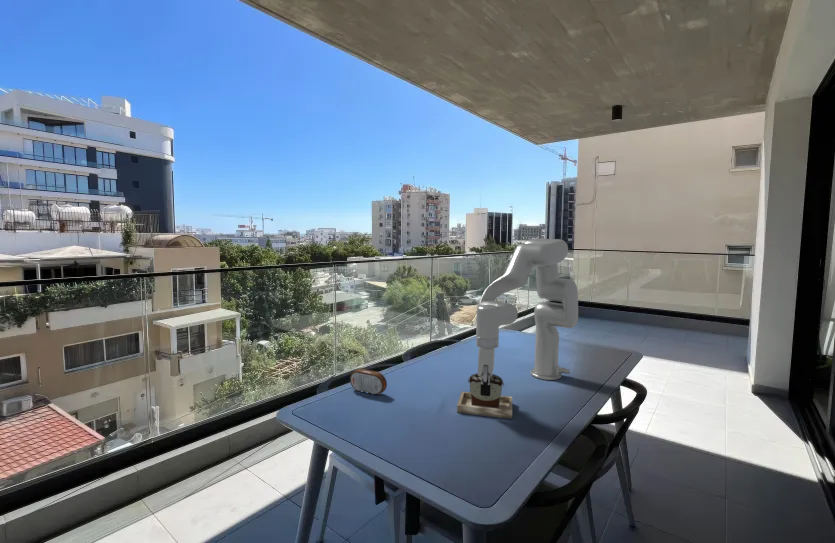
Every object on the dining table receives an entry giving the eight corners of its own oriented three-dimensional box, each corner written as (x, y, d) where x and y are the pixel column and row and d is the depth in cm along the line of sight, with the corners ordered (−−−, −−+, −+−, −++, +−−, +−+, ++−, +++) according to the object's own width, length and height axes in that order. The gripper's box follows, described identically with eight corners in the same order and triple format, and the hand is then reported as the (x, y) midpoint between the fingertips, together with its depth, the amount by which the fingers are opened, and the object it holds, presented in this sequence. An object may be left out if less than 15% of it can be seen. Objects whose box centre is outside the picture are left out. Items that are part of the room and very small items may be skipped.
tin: (387, 394, 145) (387, 372, 144) (383, 397, 142) (383, 375, 141) (353, 387, 151) (353, 366, 151) (348, 390, 149) (348, 369, 148)
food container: (504, 401, 137) (505, 374, 136) (503, 409, 132) (504, 381, 130) (470, 397, 141) (470, 370, 140) (467, 404, 135) (467, 377, 134)
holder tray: (512, 403, 138) (512, 396, 138) (512, 418, 127) (512, 411, 126) (461, 398, 142) (461, 391, 142) (457, 412, 131) (457, 405, 131)
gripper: (478, 334, 142) (477, 379, 143) (473, 347, 125) (472, 399, 127) (499, 335, 140) (498, 381, 142) (497, 349, 123) (496, 401, 125)
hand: (486, 389), depth 134 cm, fingers open, 9 cm apart
